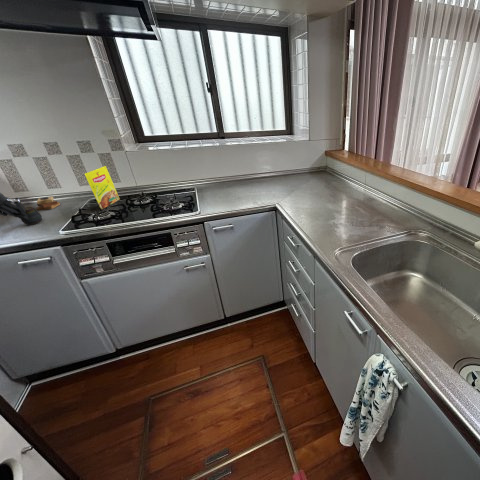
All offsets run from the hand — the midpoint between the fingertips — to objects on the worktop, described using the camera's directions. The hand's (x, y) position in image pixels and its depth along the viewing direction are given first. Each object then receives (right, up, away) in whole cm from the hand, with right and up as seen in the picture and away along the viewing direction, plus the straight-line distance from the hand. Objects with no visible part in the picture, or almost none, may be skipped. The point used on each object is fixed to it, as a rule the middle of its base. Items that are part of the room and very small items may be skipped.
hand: (26, 217), depth 127 cm
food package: (+20, +10, +26) cm, 34 cm away
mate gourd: (-2, -2, +6) cm, 6 cm away
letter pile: (-12, +8, +23) cm, 28 cm away
